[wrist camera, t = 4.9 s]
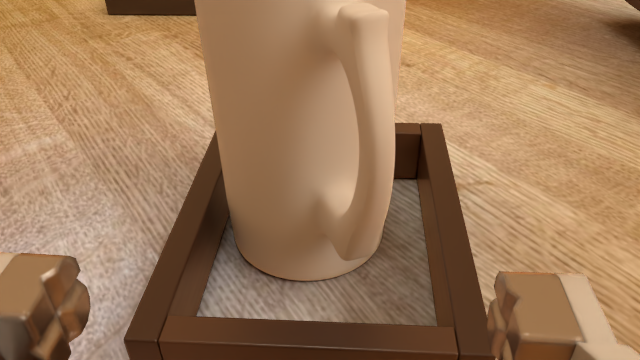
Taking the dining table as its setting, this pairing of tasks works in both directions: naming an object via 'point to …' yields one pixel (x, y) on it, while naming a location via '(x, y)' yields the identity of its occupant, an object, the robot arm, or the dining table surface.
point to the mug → (304, 126)
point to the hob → (151, 7)
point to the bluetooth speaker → (634, 3)
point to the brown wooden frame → (313, 336)
